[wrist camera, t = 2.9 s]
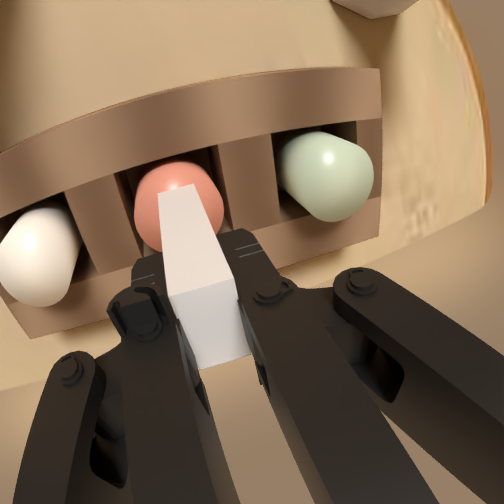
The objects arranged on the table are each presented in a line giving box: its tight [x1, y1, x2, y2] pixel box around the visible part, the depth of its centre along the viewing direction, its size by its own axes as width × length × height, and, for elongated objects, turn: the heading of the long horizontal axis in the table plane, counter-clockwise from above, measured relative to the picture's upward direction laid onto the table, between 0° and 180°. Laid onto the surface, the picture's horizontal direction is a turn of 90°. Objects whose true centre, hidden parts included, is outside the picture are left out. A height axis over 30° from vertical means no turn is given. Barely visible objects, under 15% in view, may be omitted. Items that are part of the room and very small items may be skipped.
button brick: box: [134, 153, 224, 252], centre depth 14 cm, size 4×4×4 cm
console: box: [0, 67, 382, 339], centre depth 15 cm, size 22×10×4 cm, turn 98°
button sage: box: [273, 128, 374, 222], centre depth 15 cm, size 4×4×4 cm
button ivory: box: [0, 200, 82, 307], centre depth 12 cm, size 4×4×4 cm
